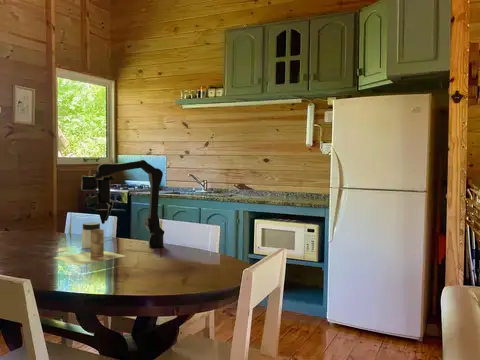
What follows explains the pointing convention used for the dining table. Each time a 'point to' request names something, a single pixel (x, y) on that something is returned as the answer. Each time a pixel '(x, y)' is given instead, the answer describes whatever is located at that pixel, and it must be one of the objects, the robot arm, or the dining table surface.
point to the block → (97, 243)
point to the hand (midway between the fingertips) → (104, 222)
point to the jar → (88, 233)
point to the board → (87, 258)
